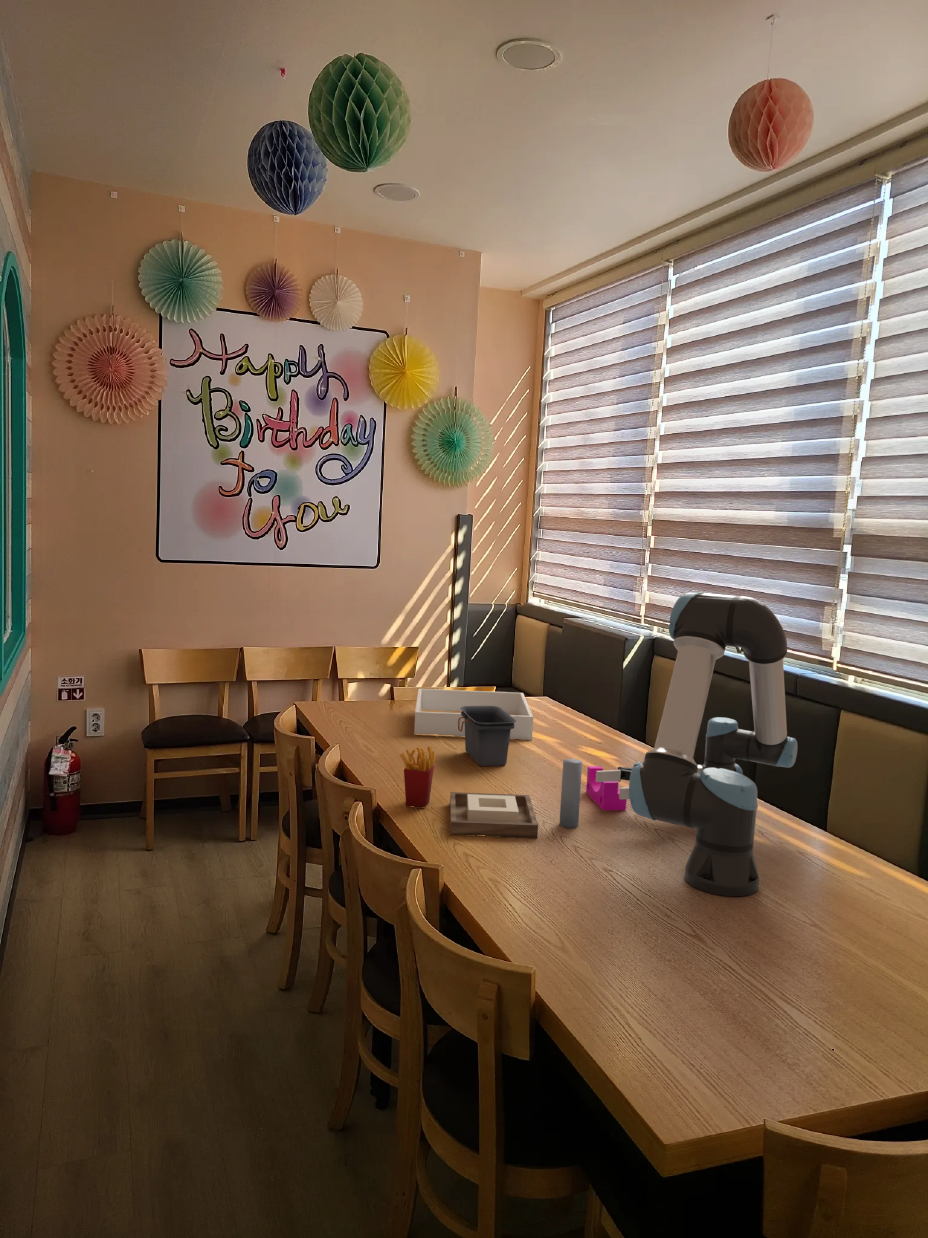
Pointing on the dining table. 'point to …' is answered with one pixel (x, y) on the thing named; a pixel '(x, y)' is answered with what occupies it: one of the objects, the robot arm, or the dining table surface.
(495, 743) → the storage bin
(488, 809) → the bore block
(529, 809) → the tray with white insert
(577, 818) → the peg
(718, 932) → the dining table surface
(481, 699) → the white shallow tray
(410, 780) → the french fries
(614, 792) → the toy block
